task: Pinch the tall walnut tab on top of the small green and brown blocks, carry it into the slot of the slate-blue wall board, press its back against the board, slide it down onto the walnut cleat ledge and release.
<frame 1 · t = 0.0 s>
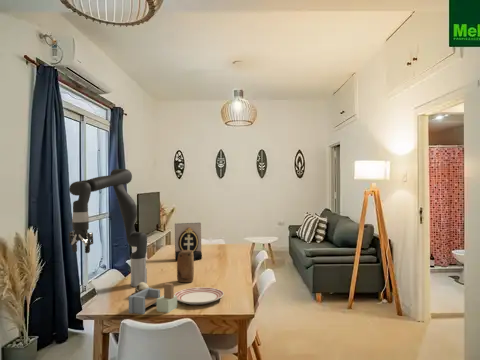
hand: (81, 252, 178), 29 cm above the table, fingers open, 8 cm apart
dinner plate: (199, 299, 192), on the table
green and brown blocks: (167, 309, 177), on the table
skull: (141, 296, 199), on the table
decorative plaque: (188, 259, 290), on the table
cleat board: (140, 307, 180), on the table
block: (185, 281, 226), on the table
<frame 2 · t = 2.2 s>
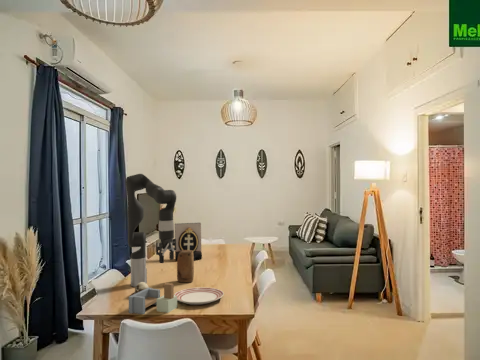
hand: (166, 261, 177), 25 cm above the table, fingers open, 8 cm apart
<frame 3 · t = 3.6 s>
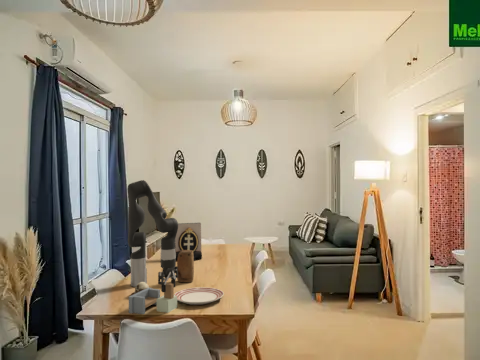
hand: (168, 289, 177), 10 cm above the table, fingers open, 8 cm apart
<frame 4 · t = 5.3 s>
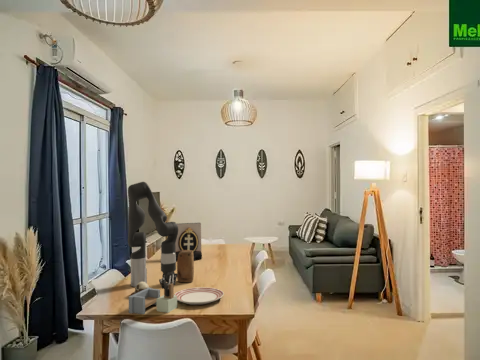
hand: (168, 295, 177), 7 cm above the table, fingers closed on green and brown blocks
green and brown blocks: (167, 309, 177), on the table, touching gripper
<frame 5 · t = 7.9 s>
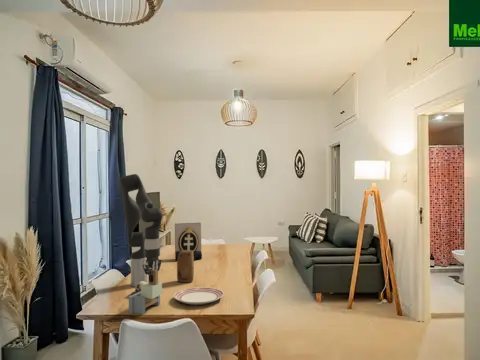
hand: (152, 281, 177), 14 cm above the table, fingers closed on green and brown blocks
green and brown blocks: (151, 295, 177), point 7 cm above the table, touching gripper
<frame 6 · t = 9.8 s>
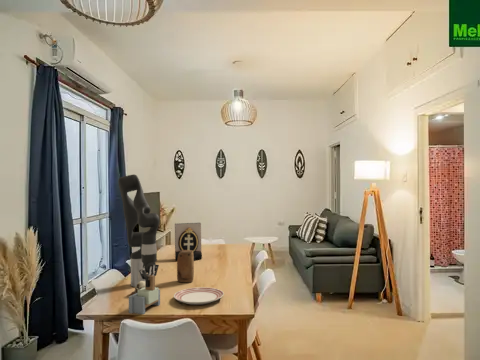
hand: (149, 286, 178), 12 cm above the table, fingers closed on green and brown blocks, 2 cm apart
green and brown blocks: (147, 300, 178), point 4 cm above the table, touching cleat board, gripper
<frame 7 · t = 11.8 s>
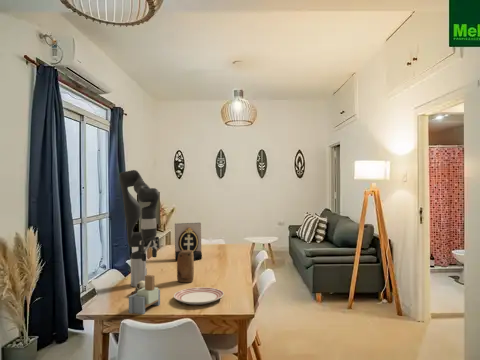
hand: (149, 259, 178), 26 cm above the table, fingers open, 8 cm apart
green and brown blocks: (148, 300, 178), point 4 cm above the table, touching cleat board
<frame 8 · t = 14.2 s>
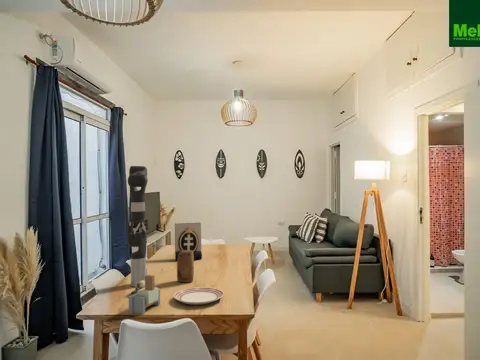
hand: (138, 239, 193), 33 cm above the table, fingers open, 8 cm apart
at the end: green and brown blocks 0.5 cm from the target spot on the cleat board, point 4.0 cm above the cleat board's base; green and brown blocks tilted 0°; the gripper is holding nothing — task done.
